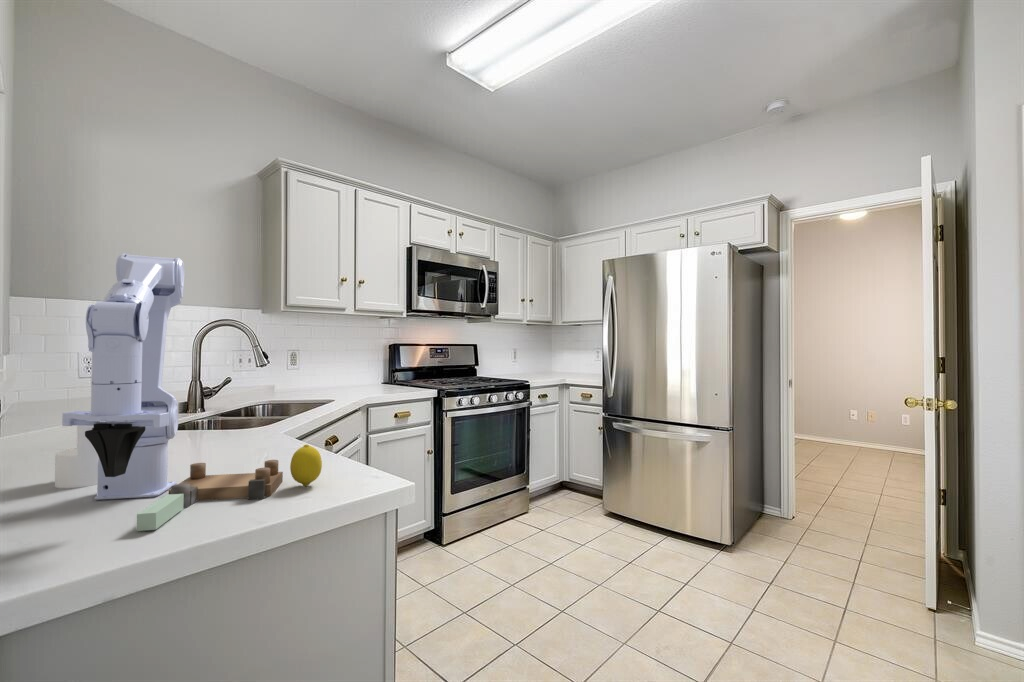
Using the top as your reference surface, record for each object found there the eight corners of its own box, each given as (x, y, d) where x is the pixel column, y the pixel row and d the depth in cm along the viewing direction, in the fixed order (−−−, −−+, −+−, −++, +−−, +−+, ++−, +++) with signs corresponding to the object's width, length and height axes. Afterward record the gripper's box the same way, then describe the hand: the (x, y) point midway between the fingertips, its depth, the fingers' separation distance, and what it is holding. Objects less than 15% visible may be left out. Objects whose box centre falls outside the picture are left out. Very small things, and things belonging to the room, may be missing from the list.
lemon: (326, 482, 93) (327, 442, 93) (312, 491, 88) (312, 448, 88) (300, 481, 94) (300, 441, 94) (283, 490, 88) (284, 447, 88)
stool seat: (155, 510, 77) (156, 482, 77) (190, 486, 90) (191, 462, 90) (263, 504, 80) (264, 477, 80) (282, 481, 93) (282, 459, 93)
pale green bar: (166, 509, 76) (166, 494, 76) (183, 508, 77) (183, 493, 77) (136, 530, 68) (136, 514, 68) (155, 529, 68) (156, 512, 68)
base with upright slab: (118, 481, 92) (119, 420, 92) (54, 491, 86) (55, 425, 86) (114, 472, 99) (116, 414, 99) (55, 480, 93) (56, 419, 93)
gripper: (41, 384, 66) (39, 482, 66) (143, 385, 66) (141, 483, 66) (88, 380, 73) (86, 469, 73) (180, 382, 73) (178, 470, 73)
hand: (115, 475), depth 70 cm, fingers closed
